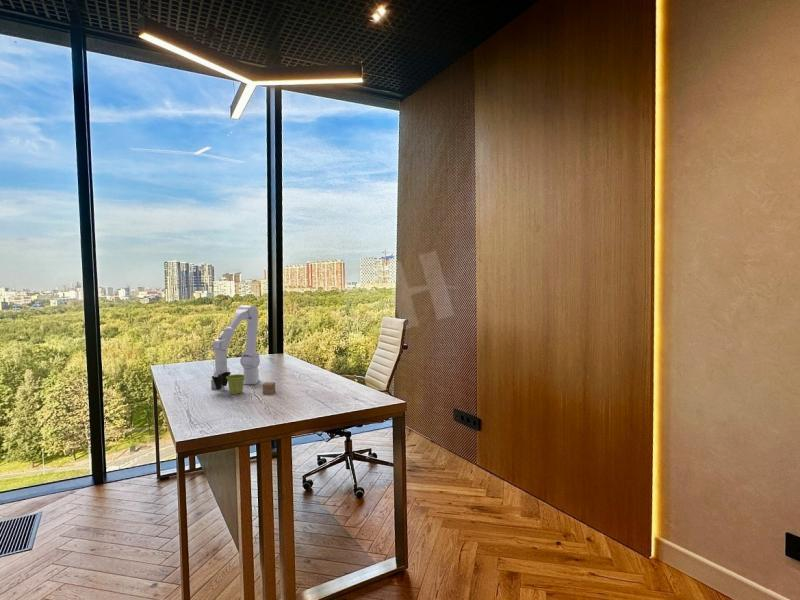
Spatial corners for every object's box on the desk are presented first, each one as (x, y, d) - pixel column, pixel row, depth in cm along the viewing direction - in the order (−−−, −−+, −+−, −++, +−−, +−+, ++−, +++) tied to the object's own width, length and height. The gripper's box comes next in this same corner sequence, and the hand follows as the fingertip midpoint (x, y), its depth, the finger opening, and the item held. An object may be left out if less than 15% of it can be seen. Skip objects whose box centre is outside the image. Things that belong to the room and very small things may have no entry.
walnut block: (265, 391, 237) (265, 382, 237) (275, 391, 237) (275, 382, 237) (262, 394, 232) (262, 384, 232) (272, 394, 232) (272, 384, 232)
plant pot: (248, 390, 239) (248, 374, 239) (240, 395, 230) (240, 378, 230) (231, 390, 240) (231, 374, 240) (223, 395, 231) (222, 378, 230)
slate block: (215, 387, 249) (215, 378, 248) (224, 387, 249) (224, 377, 248) (211, 389, 244) (211, 380, 243) (220, 389, 244) (220, 379, 243)
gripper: (219, 359, 245) (219, 384, 246) (207, 364, 231) (208, 391, 231) (232, 359, 245) (232, 384, 246) (221, 364, 231) (221, 390, 231)
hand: (221, 387), depth 239 cm, fingers open, 7 cm apart
